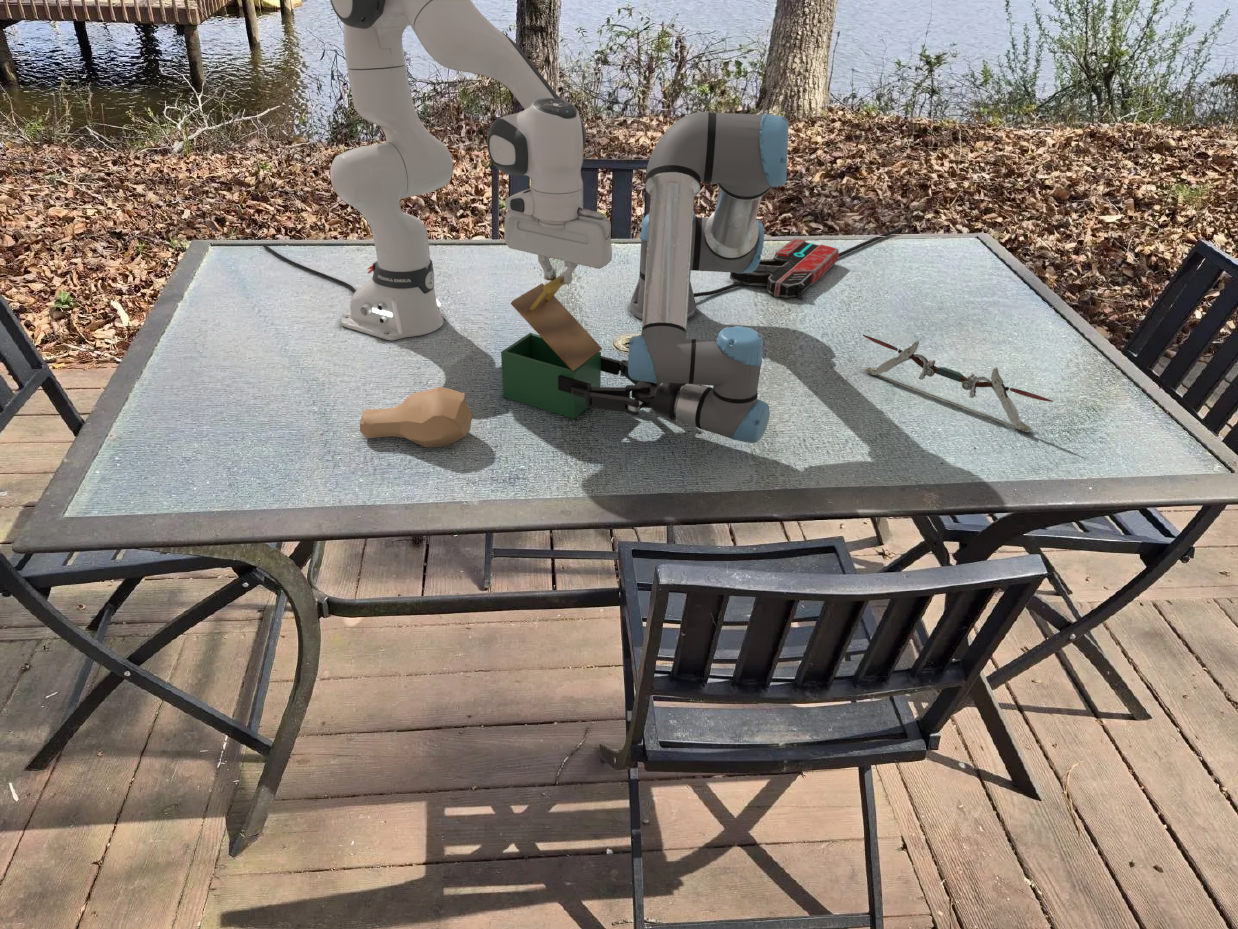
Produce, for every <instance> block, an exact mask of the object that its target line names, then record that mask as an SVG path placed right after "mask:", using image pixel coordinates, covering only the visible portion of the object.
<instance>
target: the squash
mask: <svg viewBox="0 0 1238 929" xmlns="http://www.w3.org/2000/svg"><path fill="white" fill-rule="evenodd" d="M472 422H473V413H472V411H471V409H470V408H469V406H468V403H467V398H466V395H465V393H464V392H460V391H459V390H454V389H452V388H449V387H442V386H438V387H435V388H431V389H428V390H424V391H423V390H422V391H417V392H413V393H411V394H410V395H409V396H407V397H406V398H405V399H404V401H403V402H401V403H399V404H398V405H396V406H394V407H387V408H381V409H380V408H379V409H375V408H366V409H363V410H362V412H361V418H360V422H359V432H360V433H361V434H362V435H363V436H364V437H365V439H375V438H385V437H386V438H387V437H397V438H402V439H407V440H409V441H411V442H413V443H414V444H417V445H419V446H421V447H424V448H426V449H427V448H428V449H429V448H444V447H447V446H449V445H451V444H453V443H456V442H457V441H459V440H461V439H463V438H465V437H466V436H467V435H468V433H469V432H470V431H471V427H472Z"/></svg>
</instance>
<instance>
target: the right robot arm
mask: <svg viewBox="0 0 1238 929" xmlns="http://www.w3.org/2000/svg"><path fill="white" fill-rule="evenodd" d="M789 125H790V124H789V121H788V119H787V118H786V117H784V116H782V115H776V114H775V115H774V114H770V113H764V114H763V113H762V114H759V113H733V112H732V113H730V112H729V113H728V112H709V111H698V112H693V113H690V114H688V115H685V116H683V117H681V118H679V119H677V121H674V123H673V124H671V126H670V127H668V128H667V130H666V131H665V132H664V133H663V134H662V136H661V137H660V138H659V140H658V141H657V143H656V145H655V146H654V148H653V150H652V152H651V155H650V157H649V159H648V163H647V167H646V172H645V181H644V182H645V183H644V184H645V185H644V188H645V191H646V193H647V194H648V195H649V196H650V198H649V212H648V213H647V214H646V215H645V216H644V217H643V219H642V222H641V231H640V232H641V233H640V234H639V240H640V256H639V259H640V260H639V277H638V280H637V283H636V286H635V288H634V291H633V293H632V296H631V299H630V306H629V307H630V308H629V309H630V312H631V314H632V315H633V316H634V317H636V318H638V319H640V320H642V321H641V322H642V324H641V334H639V335H634V336H632V337H630V339H629V343H628V344H629V347H628V356H627V360H626V359H622V360H618V359H615V358H611V357H606V356H603V355H601V372H604V373H608V374H612V375H614V376H618V375H619V376H620V378H621V377H625V379H627V380H629V381H630V382H631V383H633V384H628V385H626V386H625V387H622V386H621V387H619V386H615V387H614V386H612V387H611V386H601V387H591V383H586V382H583V381H579V380H576V379H572V378H569V377H565V376H562V375H560V376H558V390H561V391H564V392H568V393H571V394H573V395H576V396H579V397H582V398H585V406H586V407H588V408H589V409H596V410H605V411H611V412H612V411H613V412H617V413H618V412H619V413H625V414H629V415H631V416H635V417H636V416H639V415H640V410H641V409H651V410H652V411H653V412H654V413H655V415H656V417H658V418H662V419H664V420H668V421H671V422H675V421H677V423H679V424H682V425H686V426H689V427H693V428H695V429H696V428H697V429H699V430H702V431H705V432H709V433H712V434H716V435H719V436H721V437H724V438H728V439H731V440H733V441H739V442H743V443H748V444H756V443H757V442H760V440H761V439H762V438H763V436H764V434H765V432H766V430H767V427H768V424H769V421H770V420H769V419H770V415H771V412H770V405H769V404H768V403H767V402H766V401H763V400H761V399H758V396H759V393H758V391H759V390H758V388H759V381H760V374H761V370H762V364H763V348H764V347H763V346H764V339H763V337H762V335H761V334H760V333H759V332H758V331H757V330H755V329H753V328H750V327H747V326H741V325H734V326H732V327H730V326H727V327H724V328H722V330H720V331H719V332H718V335H717V338H716V339H699V338H687V328H688V327H687V326H688V321H689V320H690V319H692V318H693V317H694V316H695V315H696V310H697V304H696V298H697V297H705V296H712V295H716V294H719V293H723V292H725V291H728V290H732V289H735V288H738V287H742V286H747V285H746V284H744V283H743V282H735V283H732V284H729V285H726V286H723V287H721V288H716V289H714V290H713V289H712V290H710V291H700V292H694V291H693V287H692V283H691V272H693V271H695V272H699V271H700V272H713V273H715V272H716V273H730V272H732V273H737V274H740V273H741V274H742V273H751V272H753V271H754V270H755V269H756V268H757V267H758V265H759V262H760V260H762V258H761V257H762V254H763V250H764V243H765V228H764V224H763V223H762V221H760V220H758V219H757V216H758V213H759V210H760V206H761V203H762V199H763V196H765V195H766V194H767V193H768V192H769V191H771V189H772V188H777V187H782V186H784V185H786V183H787V178H788V176H787V175H788V174H787V173H788V150H789ZM701 183H706V184H716V185H717V186H718V190H717V191H718V192H717V197H716V202H715V208H714V211H713V212H712V213H711V214H710V216H709V217H704V216H703V217H702V216H701V217H700V216H699V217H698V216H697V215H696V213H695V210H694V201H695V197H696V196H697V195H699V193H700V191H701ZM901 231H902V229H901V228H897V229H894V230H891V231H887V232H885V233H883V234H879V236H886V237H888V236H891V235H894V234H897V233H900V232H901ZM883 238H884V237H877V236H874V237H873V238H870V239H869V240H865V241H864V242H861V243H859V244H857V245H855V246H853V247H850V248H847V249H845V250H843V251H841V252H839V256H838V258H840V257H843V256H845V255H848V254H849V253H851V252H854V251H856V250H858V249H861V248H862V247H865V246H867V245H869V244H871V243H874V242H877V241H879V240H881V239H883ZM711 386H712V387H711Z"/></svg>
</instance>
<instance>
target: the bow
mask: <svg viewBox="0 0 1238 929" xmlns="http://www.w3.org/2000/svg"><path fill="white" fill-rule="evenodd" d="M862 336H863V338H864V337H865V338H866V339H868V340H869V341H871V342H873V343H874V344H877V345H880V346H882V347H884V348H887V349H889V350H893V351H896V352H897V353H898V355H897V356H894V357H892V358H890V359H888V360H886V361H883V363H881V364H880V365H879V366H878V367H870V366H868V367H866V368H865V369H864V371H865V373H867V374H868V375H871V376H878V377H880V378H884V379H886V380H888V381H891V382H894V383H896V384H899V385H901V386H904V387H906V388H910V389H913V390H915V391H918V392H921V393H924V394H926V395H928V396H931V397H934V398H937V399H939V400H942V401H944V402H947V403H949V404H953V405H956V406H958V407H960V408H963V409H967V410H969V411H970V412H971V411H972V412H975V413H977V414H979V415H981V416H982V415H983V416H985V417H988V418H991V419H993V420H996V421H998V422H1001V423H1004V424H1007V425H1009V426H1012V427H1015V429H1016V430H1019V431H1021V432H1024V433H1030V432H1031V431H1032V430H1033V428H1032V427H1030V425H1027V424H1026V423H1025V422H1024V421H1022V420H1021V418H1020V414H1019V411H1018V409H1017V407H1016V406H1015V404H1014V402H1013V400H1012V399H1011V398H1010V397H1009V395H1008V393H1007V392H1009V391H1010V392H1012V393H1014V394H1018V395H1021V396H1023V397H1027V398H1031V399H1034V400H1038V401H1044V402H1050V403H1054V402H1055V400H1053V399H1049V398H1047V397H1044V396H1041V395H1038V394H1036V393H1032V392H1029V391H1026V390H1022V389H1019V388H1014V387H1009V386H1006V385H1005V384H1004V383H1005V381H1004V380H1003V378H1002V377H1001V375H1000V371H999V368H998V367H997V366H995V367H994V368H993V369H992V372H991V376H990V378H988V377H986V376H977V375H975V373H972V374H971V375H969V376H968V377H966V376H965V375H964V374H962V373H961V372H959V371H956V370H954V369H950V368H948V367H944V366H939V367H938V366H936V360H935V359H933V360H932V359H931V360H930V359H929V360H928V359H927V358H926V356H925V355H922V354H920V353H919V354H918V353H916V352H917V350H918V348H919V343H920V340H916V341H914V342H913V343H912V344H911V345H910V346H908V347H906V348H905V349H904V350H902V349H898V348H897V347H896V346H894V345H891V343H887V342H885V341H883V340H880V339H877V338H876V337H875V338H874V337H872V336H869V335H866V334H862ZM915 353H916V354H915ZM909 360H912V361H913V362H914V363H915V364H916V365H917V366H919V367H920V368H922V369H921V372H920V374H919V377H918V379H919V380H922V381H923V380H924V379H926V376H927V377H930V378H932V377H933V376H935V374H936V375H939V376H941V377H944V378H947V379H950V380H952V381H956V382H958V383H961V388H962V389H963V390H965V391H969V393H968V394H969V396H968V398H971V399H974V398H975V397H976V394H977V390H976V389H977V388H991V389H992V390H993V391H994V393H995V394H996V396H997V398H998V399H999V401H1000V403H1001V406H1002V408H1003V410H1004V411H1005V413H1006V415H1007V418H1008V419H1009V421H1010V422H1011V423H1009V422H1006V421H1004V420H1001V419H998V418H996V417H993V416H990V415H987V414H985V413H983V412H979V411H977V410H975V409H971V408H969V407H966V406H963V405H961V404H958V403H956V402H953V401H950V400H947V399H945V398H942V397H939V396H937V395H934V394H931V393H928V392H926V391H923V390H921V389H918V388H915V387H912V386H910V385H907V384H904V383H902V382H898V381H896V380H894V379H891V378H888V377H885V376H883V375H881V374H883V373H888V371H890V370H892V369H893V368H895V367H896V366H898V365H900V364H902V363H904V362H906V361H907V362H908V361H909Z"/></svg>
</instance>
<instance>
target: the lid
mask: <svg viewBox="0 0 1238 929" xmlns="http://www.w3.org/2000/svg"><path fill="white" fill-rule="evenodd" d="M564 285H565V284H562V283H560V275H558V276H556V278H555V279H554V280H552V281H550V280H549V281H548V282H547V283H545V284H544V283H540V284H538V285H536V286H535V287H533V288H531V289H530V290H528V291H526V292H524V293H523V294H521V295H520V296H518V297H516V298H515V299H513V300H512V301H511V302H510V305H511V306H512V307H513V308H514V309H515V310H516V312H517V313H518V314H519V315H520V316H521V317H522V318H523V319H524V320H525V322H527V323H528V325H529V326H530V327H531V328H532V329H533V330H534V331H535V332H536V333H537V335H540V336H541V337H542V338H543V339H544V341H545V342H546V343H547V344H548V345H549V346H550V347H551V348H552V349H553V350H554V351H555V353H556V354H557V355H558V356H559V357H560V358H561V359H562V360H563V361H564V362H565V363H566V365H567V366H568V367H569V368H570V369H571V370H572V371H575V370H576V369H577V368H578V367H580V366H581V365H582V364H584V363H585V362H586V361H588V360H589V359H590V358H592V357H593V356H594V355H595V354H597V353H598V352H601V351H602V350H603V348H602V346H601V345H600V344H599V343H598V342H597V341H596V340H595V339H594V338H593V336H592V335H591V334H590V333H589V332H588V331H587V330H586V328H584V327H583V326H582V325H581V323H580V322H579V321H578V320H577V319H576V318H575V317H574V315H572V313H571V312H570V311H569V310H568V309H567V307H565V306H564V305H563V304H562V303H561V302H560V300H559V299H558V298H557V297H556V296H555V295H556V293H557V292H558V291H559V290H560V289H561V288H562V286H564Z"/></svg>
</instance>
